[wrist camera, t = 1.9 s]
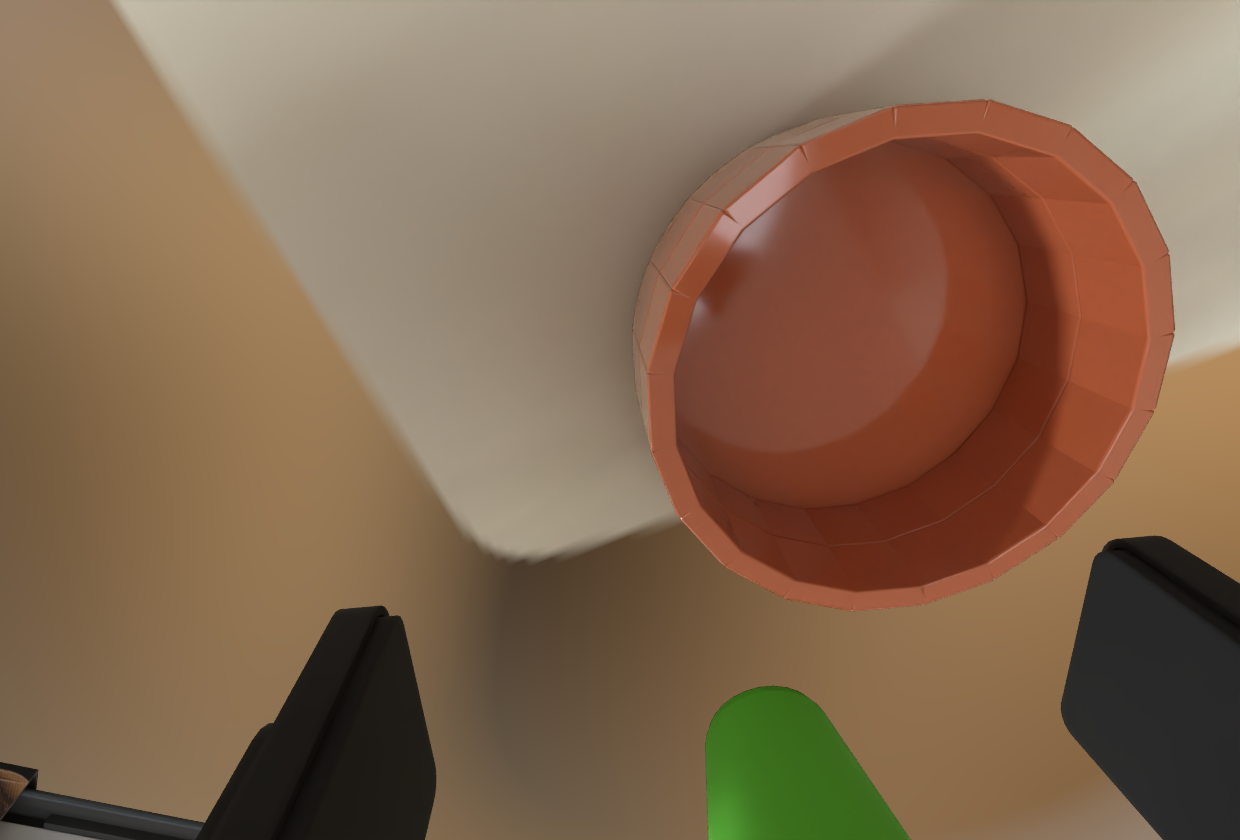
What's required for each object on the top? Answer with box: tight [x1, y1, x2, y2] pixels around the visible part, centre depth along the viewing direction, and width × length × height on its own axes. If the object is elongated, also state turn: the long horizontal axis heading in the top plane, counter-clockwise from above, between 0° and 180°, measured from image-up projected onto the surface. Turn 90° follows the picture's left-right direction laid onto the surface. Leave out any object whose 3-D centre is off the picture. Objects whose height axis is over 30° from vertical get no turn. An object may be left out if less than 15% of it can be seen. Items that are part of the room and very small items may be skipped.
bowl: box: [632, 99, 1175, 611], centre depth 19 cm, size 13×13×6 cm
